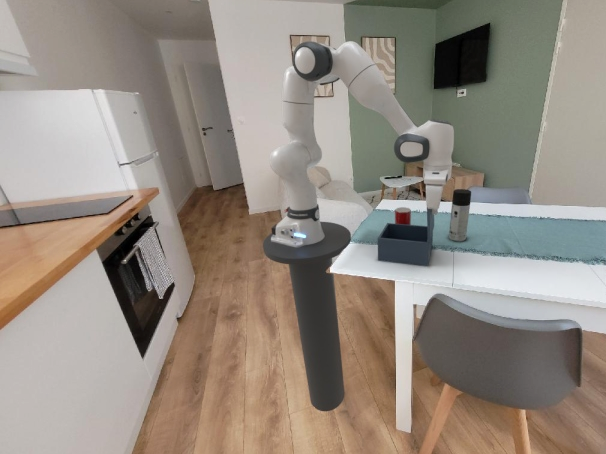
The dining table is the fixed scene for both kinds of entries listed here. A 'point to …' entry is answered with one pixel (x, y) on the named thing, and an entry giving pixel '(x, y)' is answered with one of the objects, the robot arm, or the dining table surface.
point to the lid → (430, 223)
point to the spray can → (459, 214)
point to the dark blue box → (404, 244)
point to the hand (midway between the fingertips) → (434, 213)
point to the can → (403, 216)
